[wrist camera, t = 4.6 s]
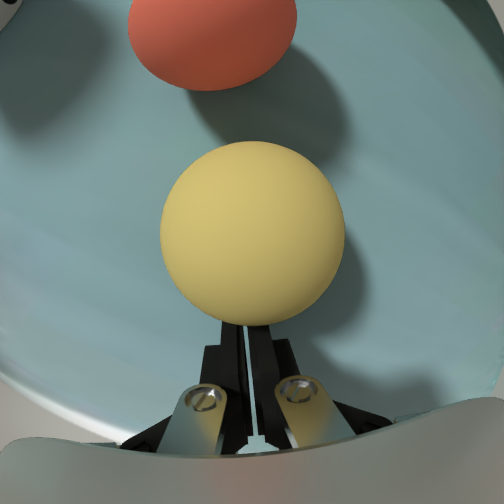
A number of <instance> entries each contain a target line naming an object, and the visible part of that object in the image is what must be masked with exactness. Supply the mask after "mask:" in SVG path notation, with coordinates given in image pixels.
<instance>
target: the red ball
mask: <svg viewBox="0 0 504 504" xmlns="http://www.w3.org/2000/svg"><path fill="white" fill-rule="evenodd" d="M296 22H297V11H296V4H295V1H294V0H133V3H132V5H131V9H130V12H129V18H128V33H129V38H130V42H131V45H132V48H133V50H134V52H135V54H136V56H137V57H138V59H139V60H140V62H141V63H142V64H143V65H144V66H145V67H146V68H147V69H148V70H149V71H150V72H151V73H152V74H154V75H155V76H156V77H158V78H160V79H161V80H163V81H165V82H167V83H169V84H172V85H174V86H177V87H180V88H184V89H189V90H196V91H217V90H224V89H229V88H233V87H237V86H240V85H243V84H245V83H248V82H250V81H252V80H254V79H256V78H258V77H260V76H261V75H263V74H264V73H266V72H267V71H268V70H269V69H270V68H272V67H273V66H274V65H275V64H276V63H277V62H278V61H279V60H280V59H281V58H282V56H283V55H284V53H285V52H286V50H287V49H288V47H289V46H290V43H291V41H292V39H293V36H294V32H295V28H296Z"/></svg>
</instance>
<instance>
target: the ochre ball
mask: <svg viewBox="0 0 504 504" xmlns="http://www.w3.org/2000/svg"><path fill="white" fill-rule="evenodd" d="M344 242H345V225H344V218H343V212H342V209H341V206H340V203H339V200H338V197H337V195H336V193H335V191H334V189H333V187H332V185H331V184H330V183H329V181H328V180H327V179H326V177H325V176H324V175H323V173H322V172H321V171H320V170H319V169H318V168H317V167H316V166H315V165H314V164H313V163H311V162H310V161H309V160H308V159H306V158H305V157H303V156H302V155H300V154H298V153H297V152H295V151H293V150H291V149H288V148H286V147H283V146H280V145H277V144H273V143H268V142H260V141H245V142H237V143H232V144H228V145H225V146H222V147H219V148H217V149H214V150H212V151H210V152H208V153H207V154H205V155H203V156H202V157H200V158H199V159H197V160H196V161H195V162H193V163H192V164H191V165H190V166H189V167H188V168H187V169H186V170H185V171H184V172H183V173H182V174H181V176H180V177H179V178H178V180H177V181H176V183H175V184H174V186H173V188H172V189H171V191H170V193H169V195H168V197H167V199H166V202H165V205H164V209H163V212H162V218H161V225H160V243H161V251H162V255H163V258H164V262H165V265H166V267H167V270H168V272H169V274H170V276H171V278H172V280H173V281H174V283H175V285H176V286H177V288H178V289H179V290H180V291H181V293H182V294H183V295H184V296H185V297H186V298H187V299H188V300H189V301H190V302H191V303H192V304H193V305H194V306H196V307H197V308H198V309H200V310H201V311H203V312H204V313H206V314H208V315H210V316H212V317H214V318H216V319H218V320H221V321H224V322H227V323H231V324H236V325H242V326H262V325H269V324H274V323H278V322H281V321H284V320H287V319H289V318H291V317H293V316H295V315H297V314H299V313H301V312H302V311H304V310H305V309H307V308H308V307H309V306H311V305H312V304H313V303H314V302H315V301H316V300H317V299H318V298H319V297H320V296H321V295H322V294H323V293H324V291H325V290H326V289H327V288H328V286H329V285H330V283H331V281H332V280H333V278H334V276H335V275H336V272H337V270H338V267H339V265H340V262H341V259H342V255H343V250H344Z"/></svg>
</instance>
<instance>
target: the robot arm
mask: <svg viewBox="0 0 504 504" xmlns="http://www.w3.org/2000/svg"><path fill="white" fill-rule="evenodd" d="M247 328H248V339H249V349H250V359H251V369H252V379H253V389H254V398H255V408H256V417H257V426H258V435H265V443H269V444H271V445H273V446H275V447H277V451H269V452H260V453H248V454H238V450H240V449H241V448H242V447H243V446H245V445H247V444H248V436H253V425H252V414H251V402H250V391H249V379H248V368H247V359H246V350H245V340H244V331H243V326H242V325H236V324H231V323H227V322H224V321H222V329H221V343H220V345H210V346H205V349H204V356H203V362H202V369H201V376H200V383H199V385H194V386H192V387H190V388H188V389H187V390H185V391H184V392H183V393H182V395H181V396H180V398H179V401H178V403H177V405H176V407H175V410H174V412H173V414H172V415H171V416H169V417H167V418H166V419H164V420H162V421H161V422H159V423H157V424H155V425H153V426H152V427H150V428H148V429H146V430H144V431H143V432H141V433H139V434H137V435H135V436H133V437H131V438H130V439H128V440H126V441H125V442H124V443H122V445H117V444H116V442H113V443H80V442H75V441H69V440H63V439H56V438H42V437H34V438H23V439H18V440H15V441H13V442H11V443H9V444H8V445H7V446H6V447H5V448H4V449H3V450H2V451H1V452H0V504H504V400H503V399H500V398H496V397H481V398H474V399H468V400H464V401H460V402H456V403H453V404H450V405H447V406H443V407H440V408H438V409H435V410H433V411H429V412H424V413H418V414H413V415H407V416H400V417H395V420H394V421H390V420H388V419H387V418H384V417H382V416H379V415H376V414H372V413H369V412H366V411H363V410H360V409H357V408H354V407H351V406H348V405H345V404H342V403H339V402H336V401H334V400H332V399H331V398H330V396H329V395H328V393H327V392H326V391H325V389H324V388H323V386H322V385H321V383H320V382H319V381H318V380H316V379H314V378H312V377H308V376H302V375H300V372H299V369H298V366H297V363H296V360H295V357H294V354H293V351H292V348H291V345H290V342H289V340H288V339H278V340H272V338H271V334H270V330H269V325H262V326H247Z"/></svg>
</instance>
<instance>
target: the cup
mask: <svg viewBox="0 0 504 504" xmlns="http://www.w3.org/2000/svg"><path fill="white" fill-rule="evenodd" d="M22 1H23V0H0V31H1V30H2V29H3V28H4V27H5V26H6V25H7V23H8V22H9V21H10V20H11V18H12V17H13V16H14V14H15V13H16V11H17V10H18V8H19V7H20V5H21V3H22Z"/></svg>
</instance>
